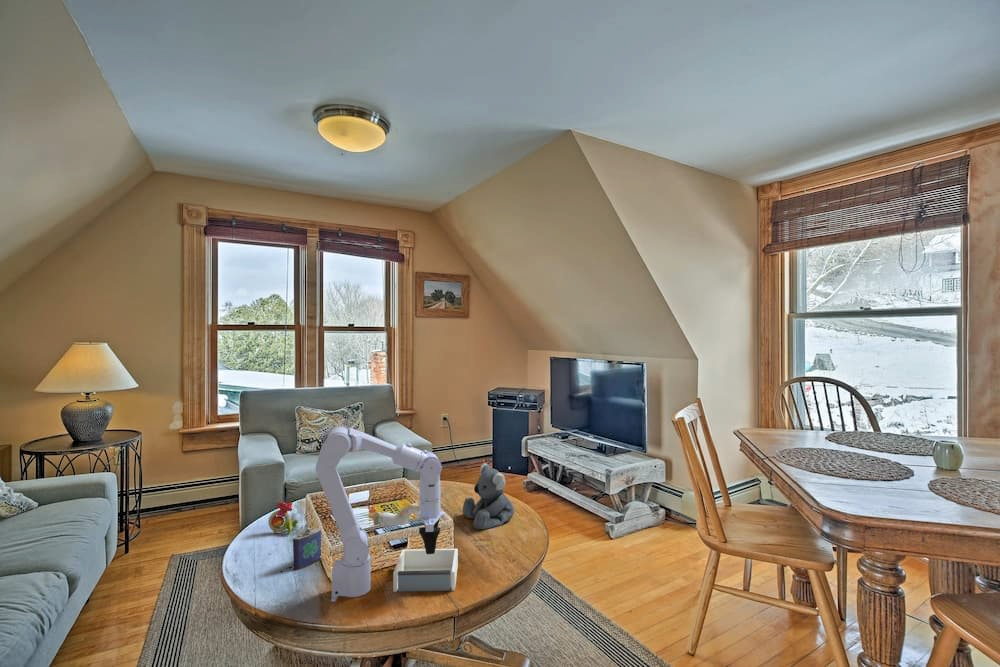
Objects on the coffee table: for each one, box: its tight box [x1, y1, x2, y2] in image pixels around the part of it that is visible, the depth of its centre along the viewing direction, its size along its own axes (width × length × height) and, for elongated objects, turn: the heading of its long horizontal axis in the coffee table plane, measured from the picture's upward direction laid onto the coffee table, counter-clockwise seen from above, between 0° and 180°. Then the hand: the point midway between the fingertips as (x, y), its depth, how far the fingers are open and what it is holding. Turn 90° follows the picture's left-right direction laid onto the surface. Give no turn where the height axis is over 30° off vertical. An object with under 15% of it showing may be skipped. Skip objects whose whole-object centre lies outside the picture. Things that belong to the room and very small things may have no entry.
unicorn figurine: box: [372, 501, 420, 526], centre depth 153 cm, size 7×20×13 cm, turn 86°
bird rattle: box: [268, 501, 299, 535], centre depth 161 cm, size 6×11×9 cm
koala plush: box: [462, 462, 515, 530], centre depth 172 cm, size 17×18×20 cm
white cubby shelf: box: [392, 548, 459, 593], centre depth 129 cm, size 16×13×6 cm
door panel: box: [397, 570, 451, 592], centre depth 123 cm, size 14×1×5 cm, turn 92°
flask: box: [292, 526, 322, 571], centre depth 140 cm, size 9×3×11 cm, turn 148°
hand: (431, 546), depth 129 cm, fingers open, 7 cm apart
